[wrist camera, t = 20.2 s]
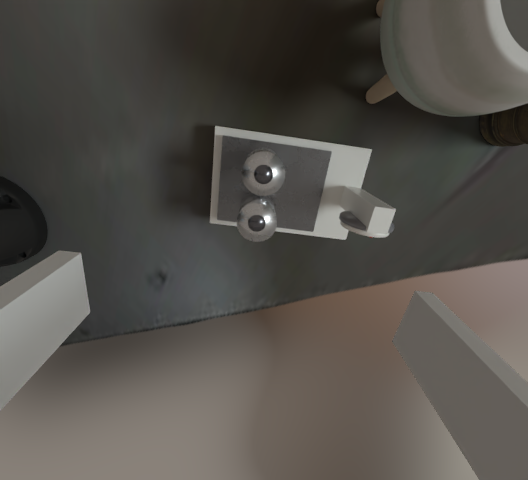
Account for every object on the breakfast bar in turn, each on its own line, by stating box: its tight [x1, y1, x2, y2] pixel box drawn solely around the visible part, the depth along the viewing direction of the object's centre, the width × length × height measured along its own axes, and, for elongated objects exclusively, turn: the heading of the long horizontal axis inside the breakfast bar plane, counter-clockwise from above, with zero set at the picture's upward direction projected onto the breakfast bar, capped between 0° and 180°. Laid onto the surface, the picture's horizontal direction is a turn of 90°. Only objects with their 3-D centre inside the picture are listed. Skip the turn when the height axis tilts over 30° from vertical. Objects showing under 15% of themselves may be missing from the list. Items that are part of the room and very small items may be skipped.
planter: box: [366, 0, 528, 117], centre depth 24 cm, size 16×16×22 cm
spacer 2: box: [237, 192, 277, 242], centre depth 35 cm, size 5×5×7 cm
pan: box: [217, 135, 332, 232], centre depth 37 cm, size 15×12×1 cm
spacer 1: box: [242, 147, 285, 196], centre depth 32 cm, size 5×5×7 cm
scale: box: [210, 126, 396, 240], centre depth 34 cm, size 24×14×14 cm, turn 82°
